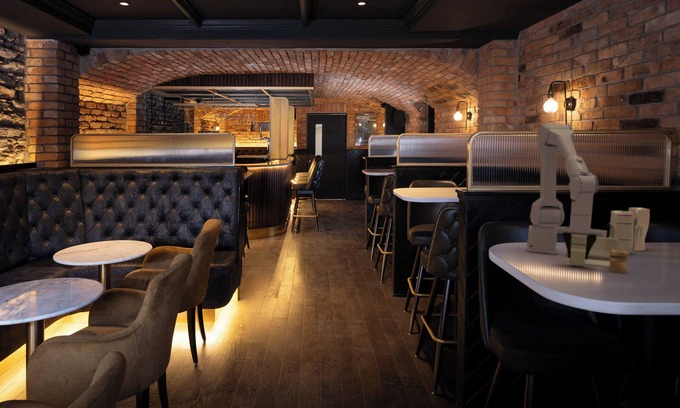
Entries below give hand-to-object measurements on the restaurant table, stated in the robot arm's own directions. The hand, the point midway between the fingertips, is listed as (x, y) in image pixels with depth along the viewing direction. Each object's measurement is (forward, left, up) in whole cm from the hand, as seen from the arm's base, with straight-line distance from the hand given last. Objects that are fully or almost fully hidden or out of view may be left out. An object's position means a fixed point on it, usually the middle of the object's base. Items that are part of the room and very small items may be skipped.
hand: (577, 258), depth 155 cm
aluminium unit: (+5, +16, -3) cm, 17 cm away
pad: (+5, +7, -3) cm, 9 cm away
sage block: (0, 0, -2) cm, 2 cm away
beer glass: (+20, +40, -3) cm, 45 cm away
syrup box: (+14, +31, -3) cm, 34 cm away
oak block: (+11, 0, -3) cm, 11 cm away
